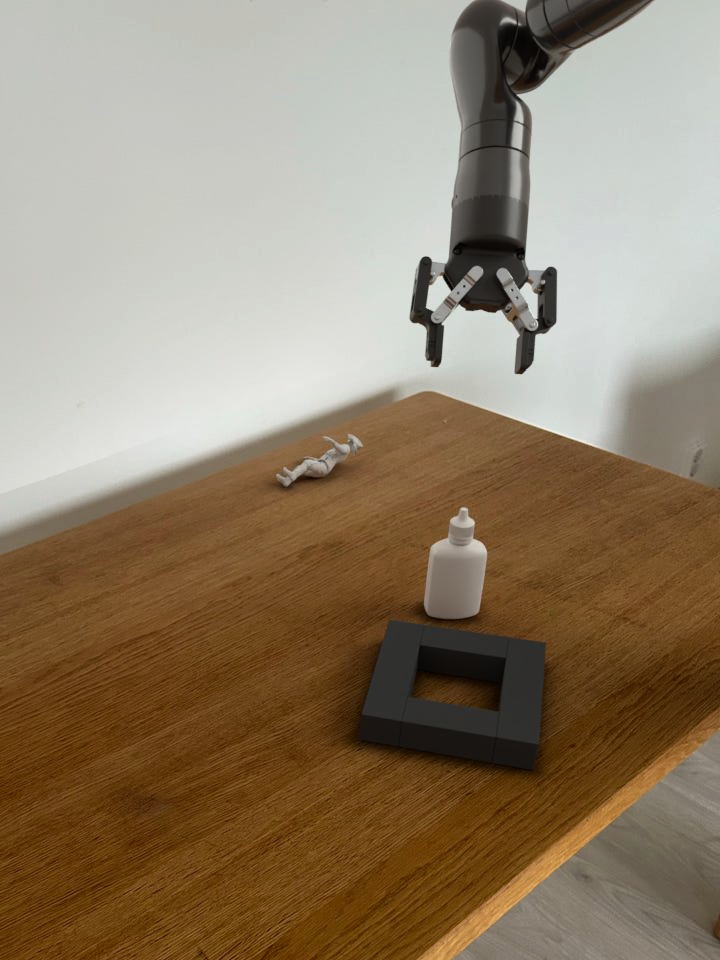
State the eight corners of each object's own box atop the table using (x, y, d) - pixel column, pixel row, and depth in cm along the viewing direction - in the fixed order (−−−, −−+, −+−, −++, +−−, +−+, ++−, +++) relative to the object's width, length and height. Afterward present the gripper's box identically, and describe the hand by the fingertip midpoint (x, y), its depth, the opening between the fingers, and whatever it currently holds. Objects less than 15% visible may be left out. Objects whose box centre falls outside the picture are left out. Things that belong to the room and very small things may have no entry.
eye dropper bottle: (431, 594, 109) (443, 493, 102) (483, 606, 106) (498, 505, 99) (418, 615, 105) (429, 513, 98) (471, 628, 103) (486, 525, 96)
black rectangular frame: (541, 667, 98) (546, 642, 96) (533, 770, 86) (538, 744, 84) (386, 643, 101) (389, 619, 100) (359, 740, 90) (361, 714, 88)
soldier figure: (266, 483, 132) (327, 430, 136) (291, 511, 132) (351, 458, 136) (287, 463, 125) (350, 408, 129) (312, 493, 125) (375, 437, 129)
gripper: (426, 185, 98) (414, 352, 98) (573, 197, 98) (561, 363, 98) (413, 219, 106) (401, 373, 105) (549, 230, 106) (537, 384, 105)
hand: (478, 368), depth 102 cm, fingers open, 8 cm apart
